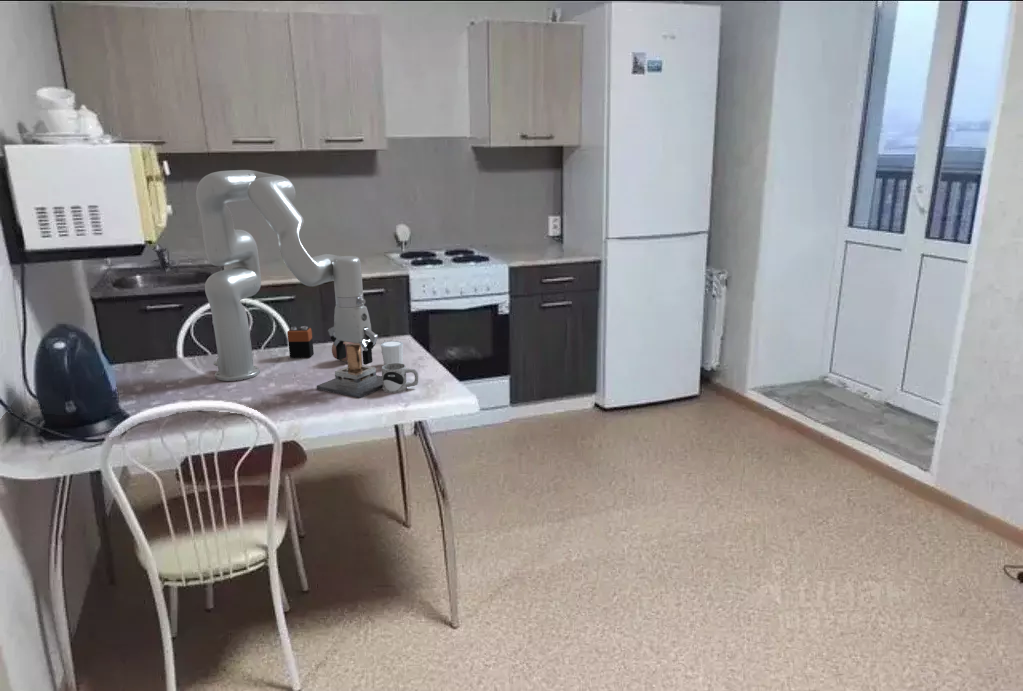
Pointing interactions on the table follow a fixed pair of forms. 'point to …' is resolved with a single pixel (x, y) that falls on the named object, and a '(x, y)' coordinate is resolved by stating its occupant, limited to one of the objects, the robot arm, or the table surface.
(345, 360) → the apple
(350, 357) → the tube
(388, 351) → the shot glass
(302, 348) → the battery
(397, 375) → the mug
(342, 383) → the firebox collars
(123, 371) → the table surface
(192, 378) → the table surface
